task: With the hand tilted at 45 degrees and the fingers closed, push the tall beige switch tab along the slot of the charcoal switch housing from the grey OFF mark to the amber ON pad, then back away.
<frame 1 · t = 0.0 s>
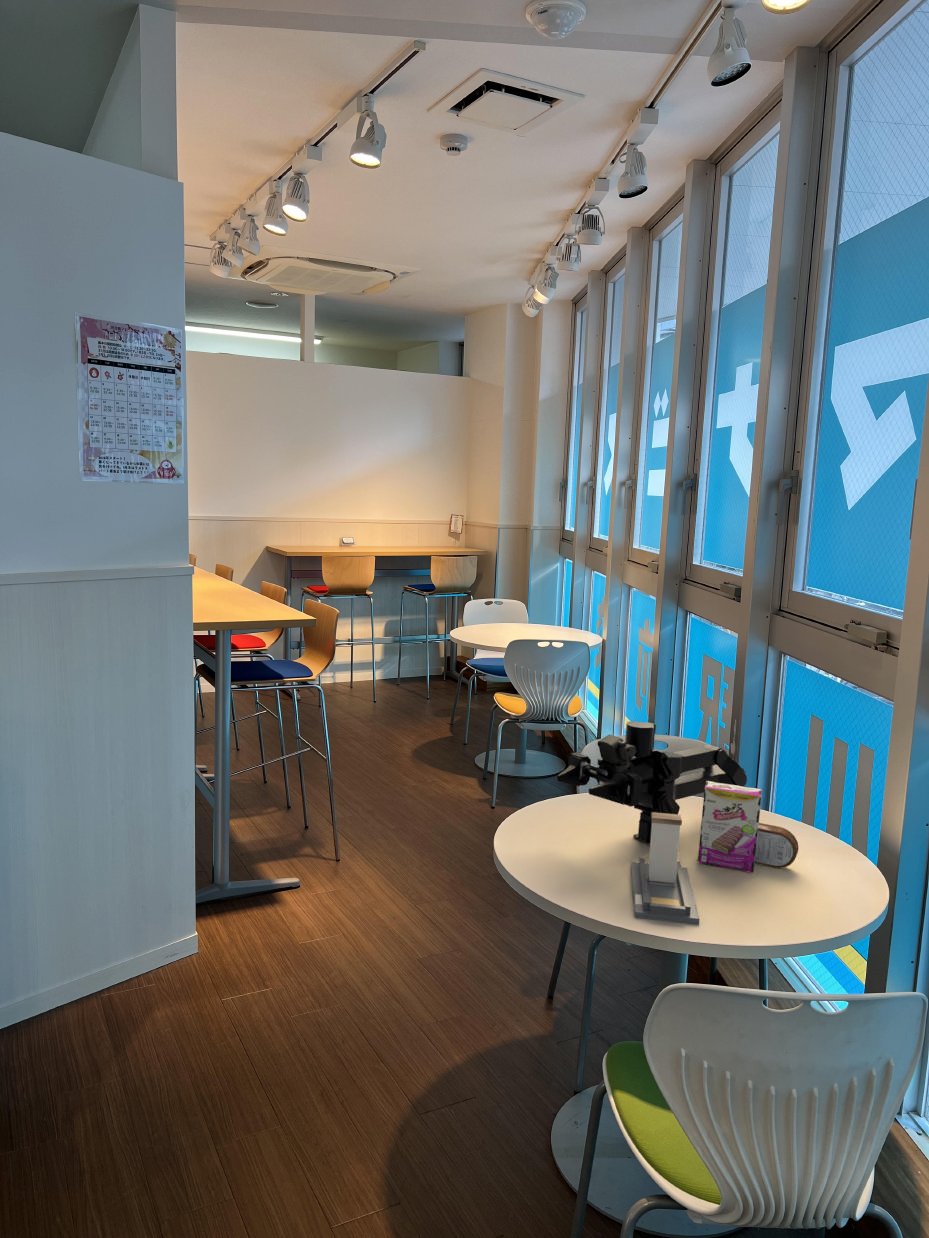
hand: (573, 784, 170), 17 cm above the table, tool horizontal, fingers open, 9 cm apart
switch housing: (662, 893, 160), on the table
tin: (757, 863, 177), on the table, touching candy bar box
candy bar box: (726, 865, 175), on the table, touching tin
switch tab: (664, 847, 162), point 8 cm above the table, slide at 0.0 cm
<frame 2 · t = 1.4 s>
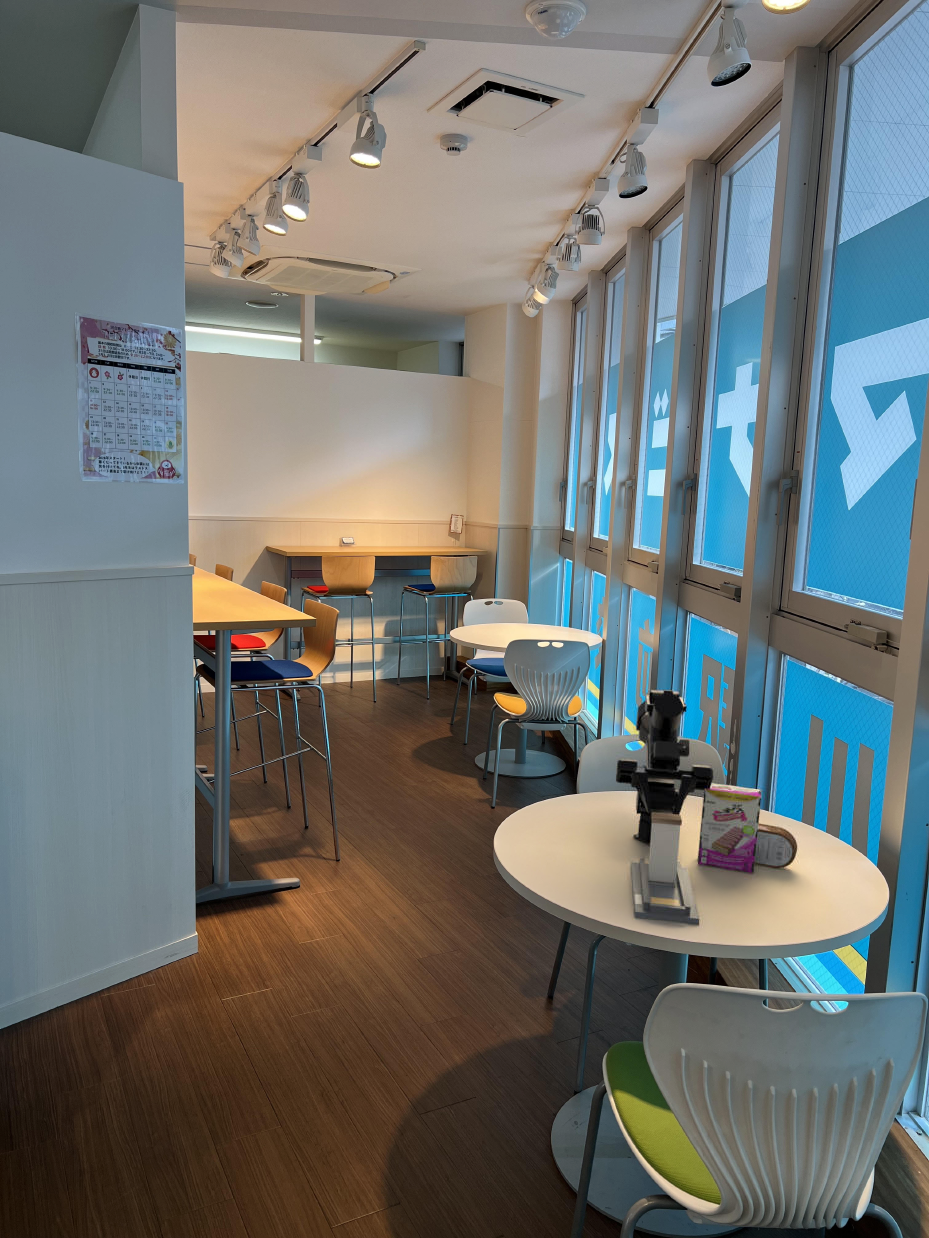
hand: (663, 813, 167), 13 cm above the table, tool tilted 45°, fingers open, 5 cm apart
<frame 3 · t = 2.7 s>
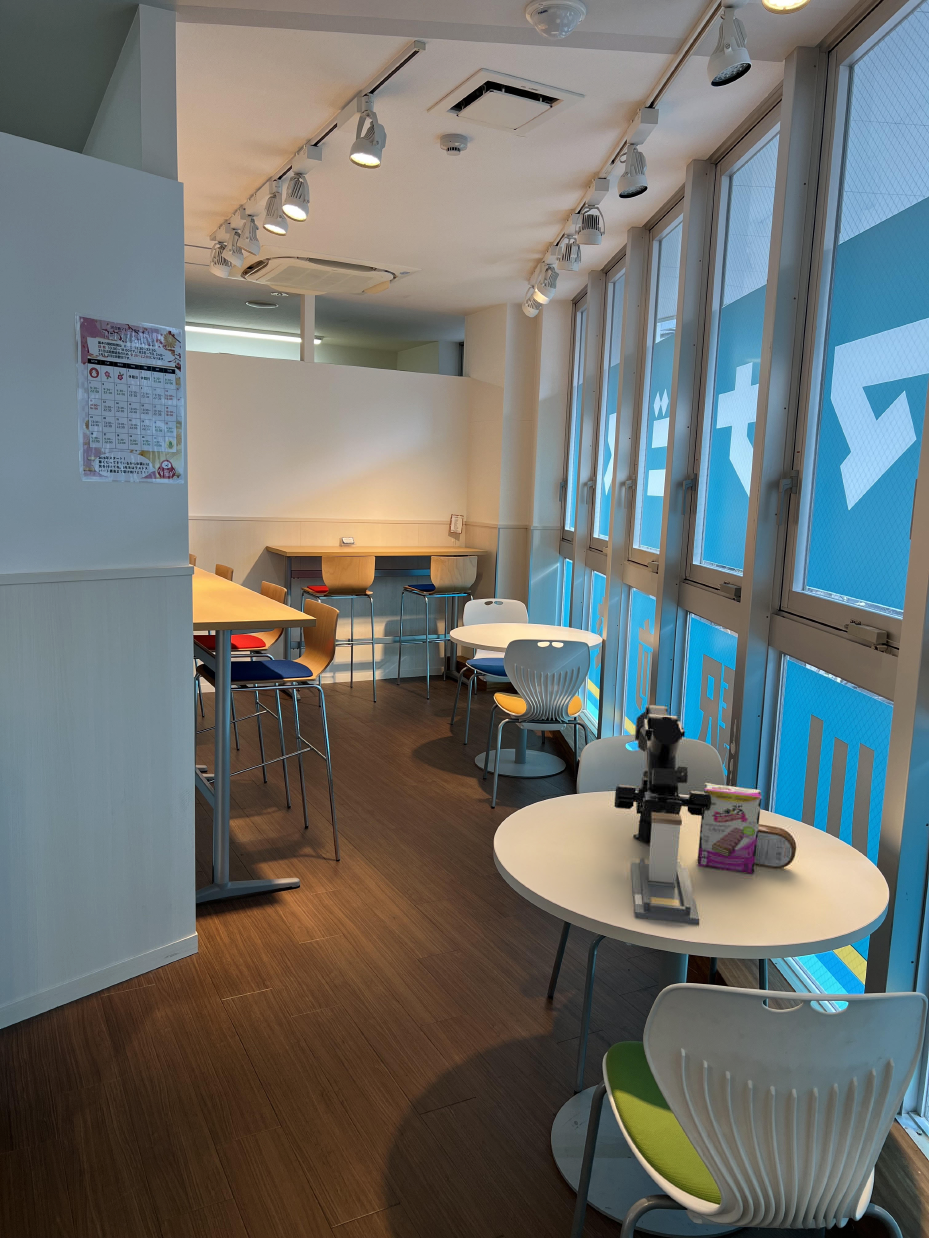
hand: (661, 839, 168), 7 cm above the table, tool tilted 45°, fingers closed
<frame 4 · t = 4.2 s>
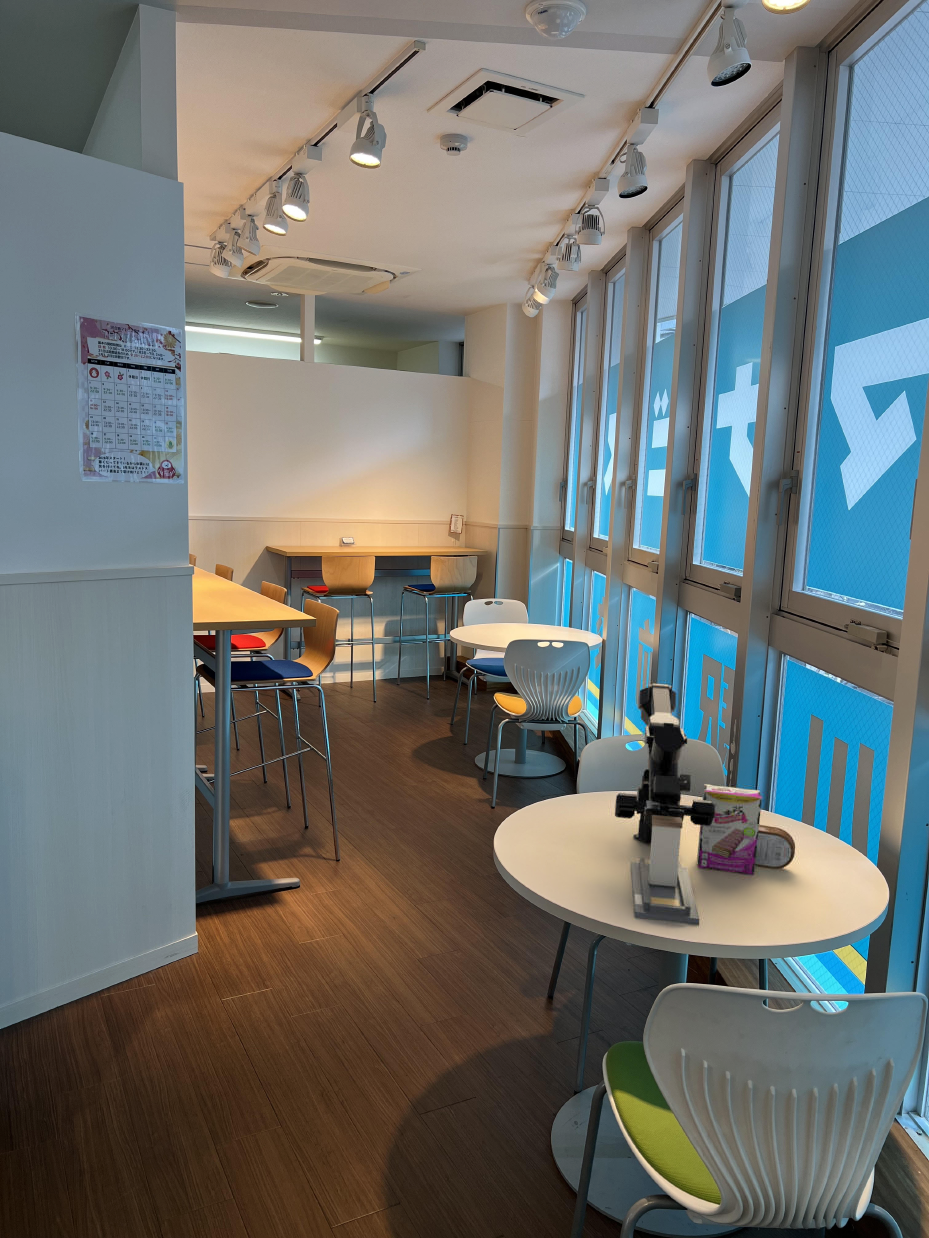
hand: (664, 850, 162), 7 cm above the table, tool tilted 45°, fingers closed, pressing on switch tab
tin: (754, 865, 176), on the table, touching candy bar box
switch tab: (664, 850, 161), point 8 cm above the table, slide at 1.6 cm, touching gripper
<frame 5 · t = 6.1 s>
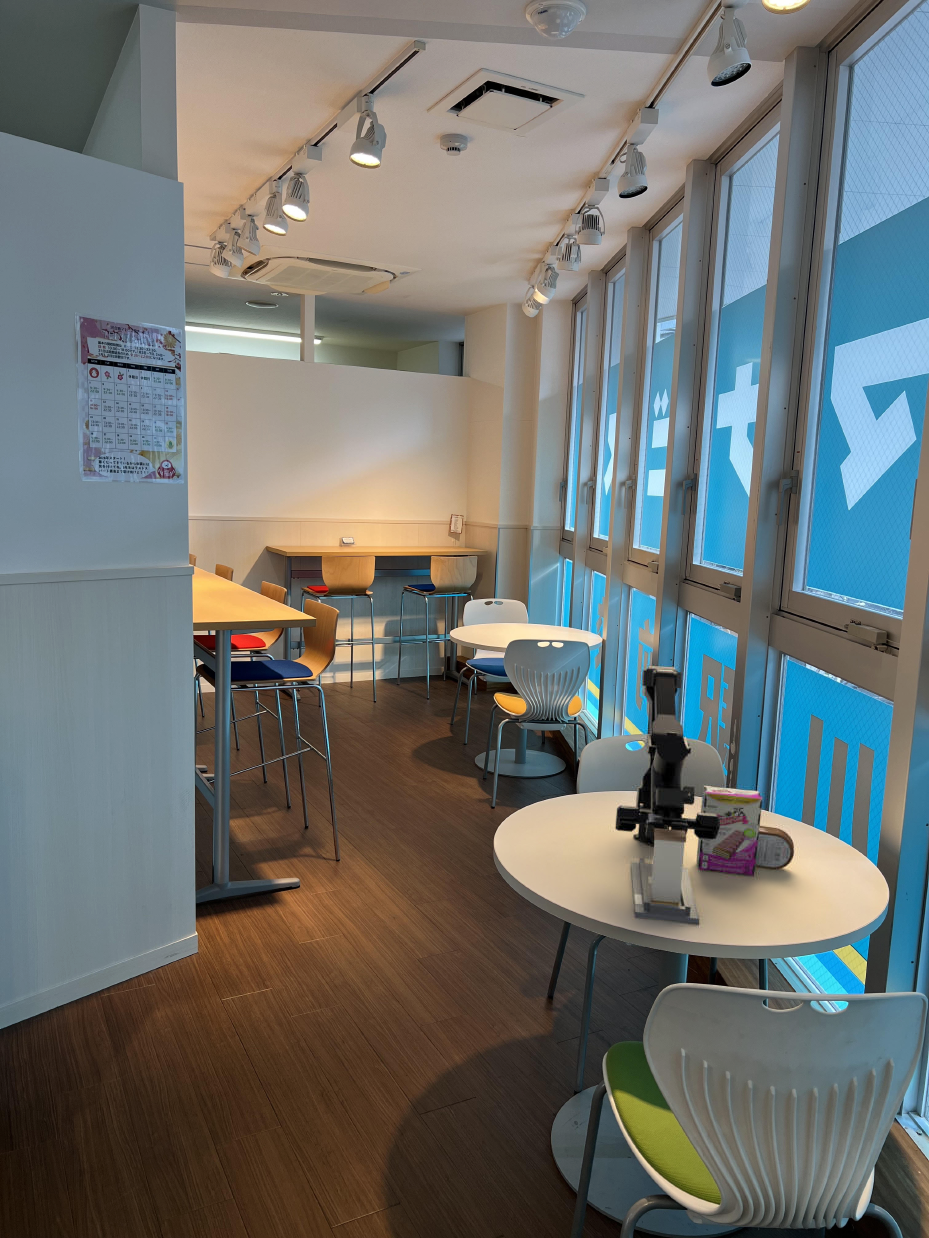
hand: (666, 865, 156), 7 cm above the table, tool tilted 45°, fingers closed, pressing on switch tab
tin: (753, 865, 175), on the table, touching candy bar box
switch tab: (667, 865, 154), point 8 cm above the table, slide at 8.4 cm, touching gripper
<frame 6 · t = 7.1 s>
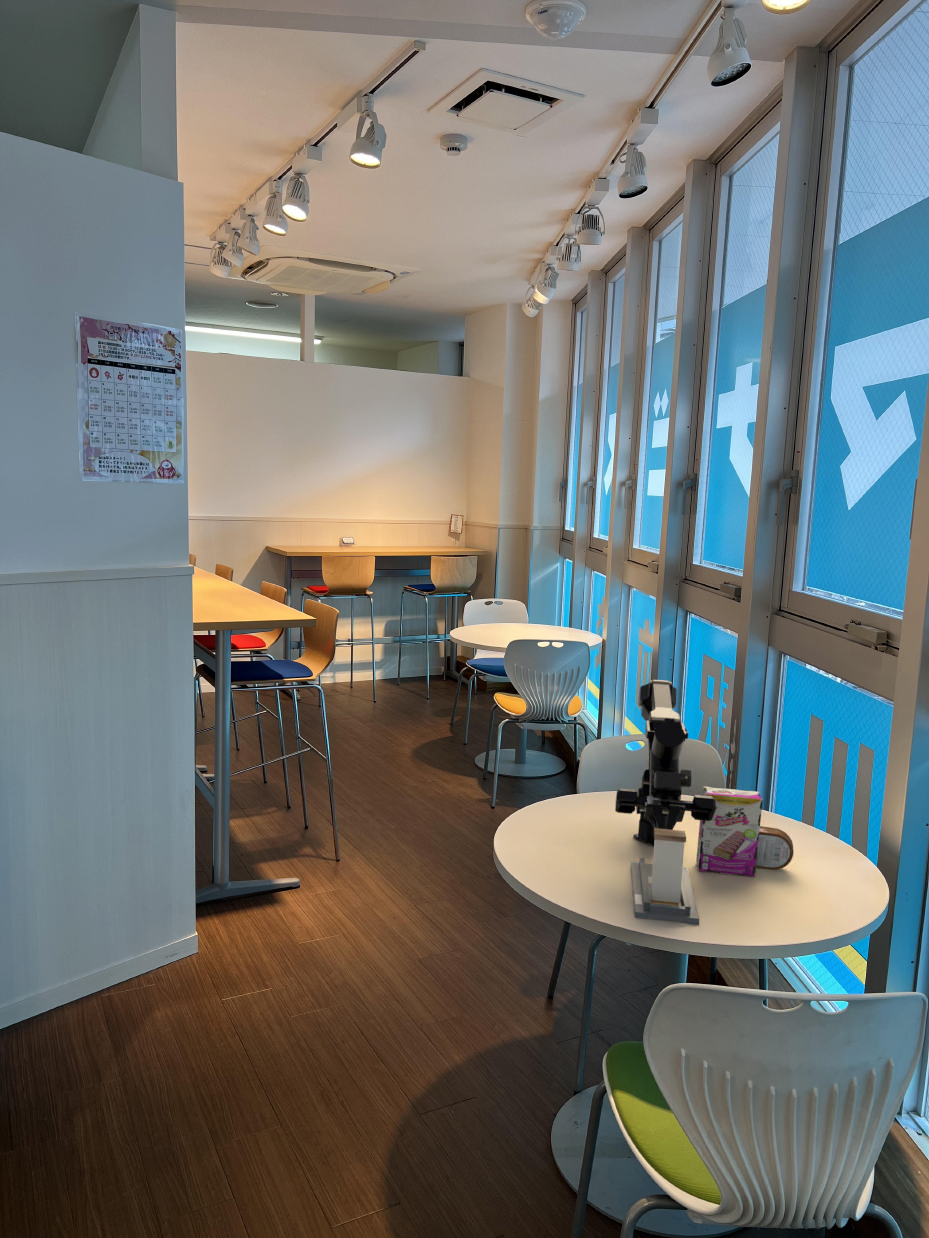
hand: (664, 845, 162), 8 cm above the table, tool tilted 45°, fingers closed
switch tab: (667, 865, 154), point 8 cm above the table, slide at 8.4 cm
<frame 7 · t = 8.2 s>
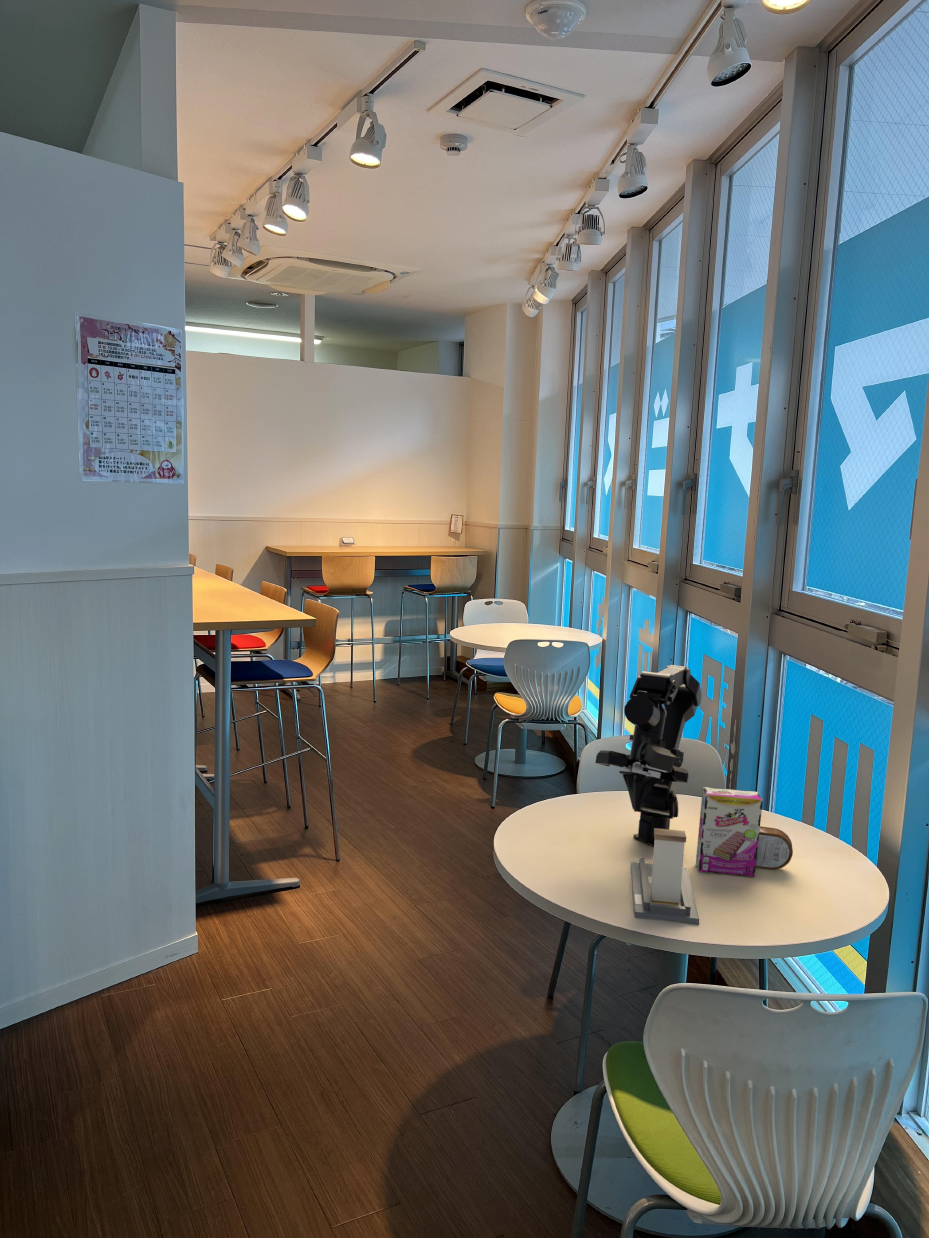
hand: (635, 809, 171), 12 cm above the table, tool tilted 20°, fingers closed
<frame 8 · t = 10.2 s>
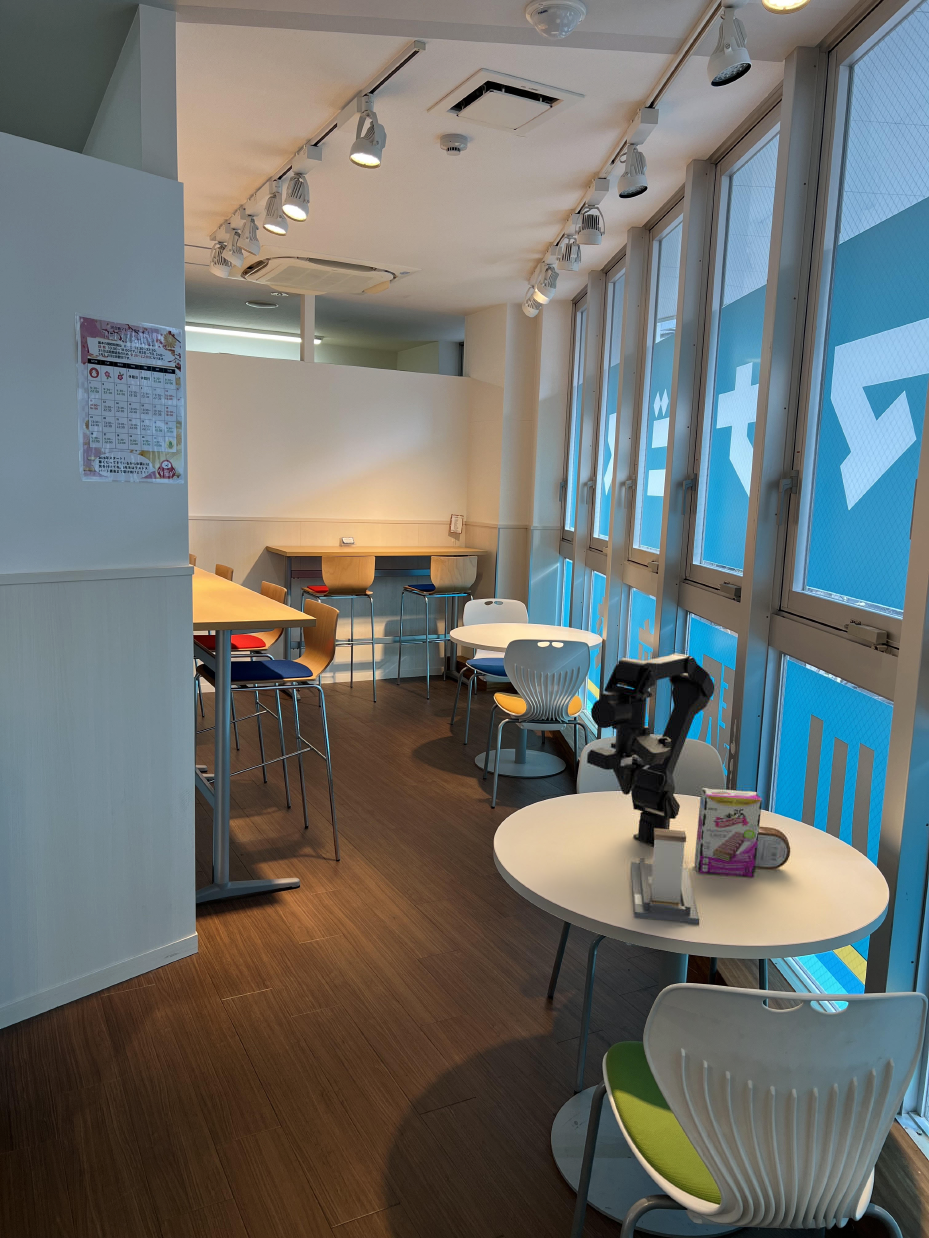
hand: (626, 794, 177), 13 cm above the table, tool pointing down, fingers closed
tin: (749, 866, 175), on the table, touching candy bar box
at the end: switch tab slide at 8.4 cm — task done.
